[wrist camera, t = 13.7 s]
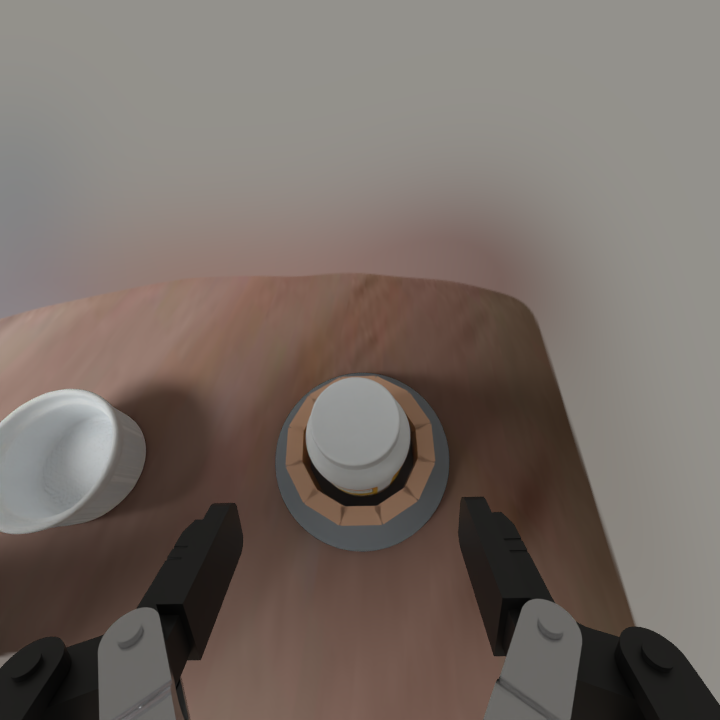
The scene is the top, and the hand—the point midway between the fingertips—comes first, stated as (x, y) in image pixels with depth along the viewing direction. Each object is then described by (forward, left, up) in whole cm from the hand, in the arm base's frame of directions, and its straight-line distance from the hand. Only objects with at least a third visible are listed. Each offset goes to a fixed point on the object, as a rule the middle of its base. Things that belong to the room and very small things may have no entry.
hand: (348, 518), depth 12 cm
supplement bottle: (-2, +4, -11) cm, 12 cm away
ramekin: (-19, -6, -12) cm, 23 cm away
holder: (-2, +4, -12) cm, 13 cm away
